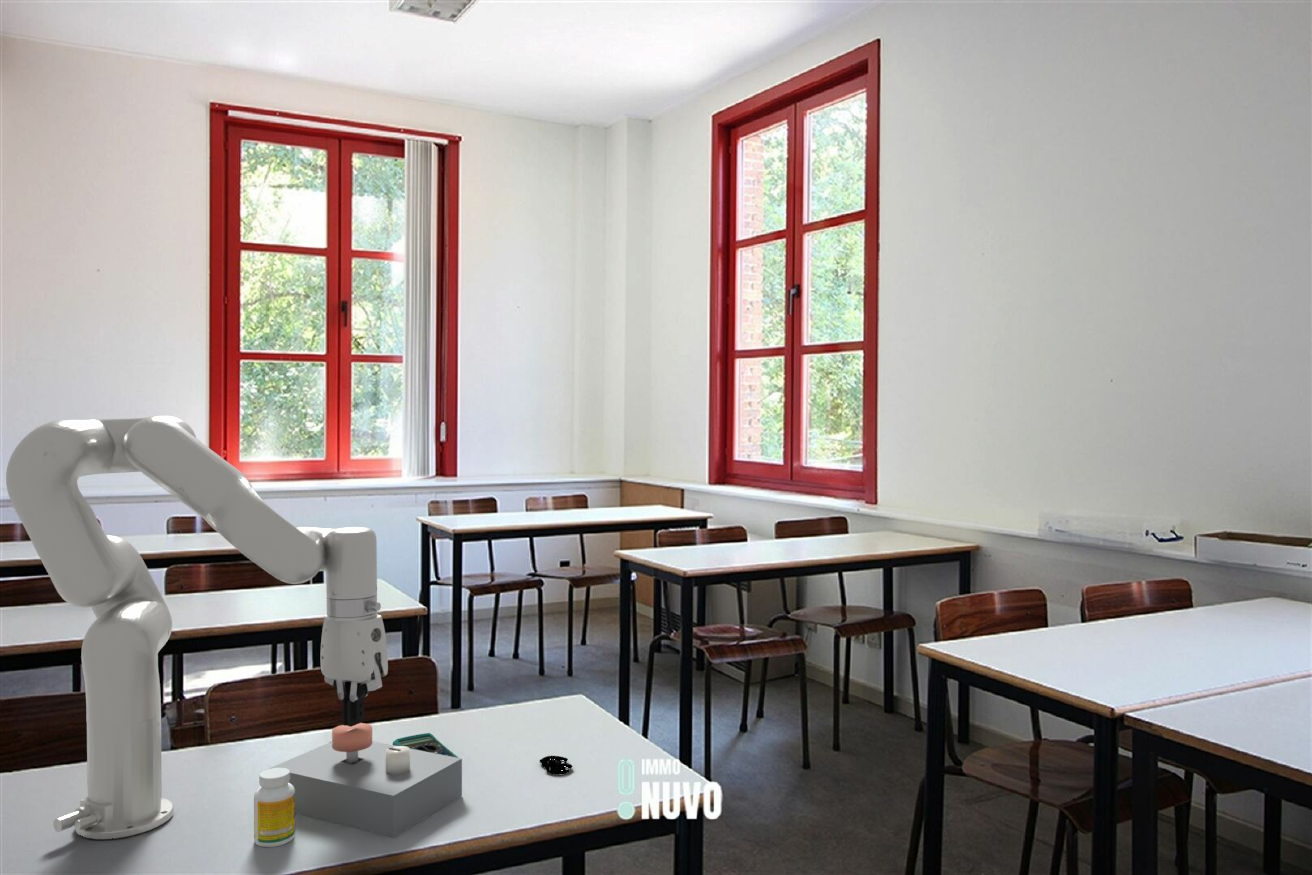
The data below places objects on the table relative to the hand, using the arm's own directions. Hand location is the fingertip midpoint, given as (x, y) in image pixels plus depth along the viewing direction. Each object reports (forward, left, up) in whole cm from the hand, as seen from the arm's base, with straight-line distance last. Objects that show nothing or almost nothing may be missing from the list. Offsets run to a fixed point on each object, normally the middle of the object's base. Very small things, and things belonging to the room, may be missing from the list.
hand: (353, 723), depth 148 cm
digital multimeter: (+18, 0, -13) cm, 22 cm away
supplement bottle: (-16, 0, -12) cm, 20 cm away
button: (0, 0, -6) cm, 6 cm away
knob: (0, -9, -6) cm, 11 cm away
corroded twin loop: (+25, -22, -12) cm, 35 cm away
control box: (0, -3, -12) cm, 12 cm away
